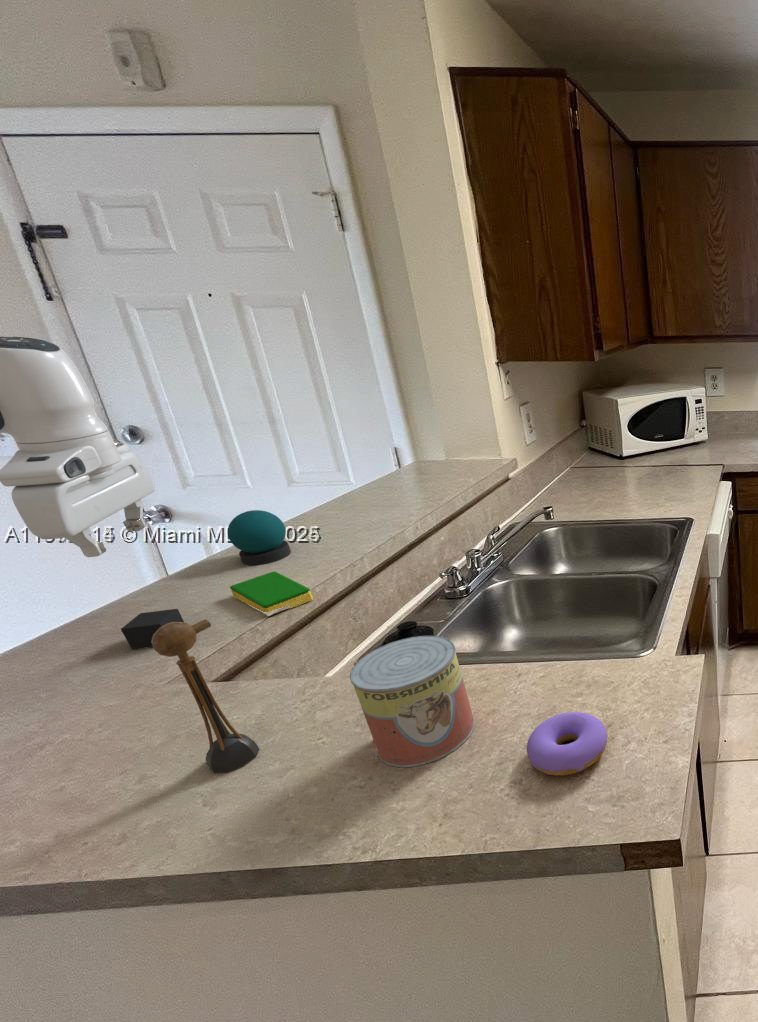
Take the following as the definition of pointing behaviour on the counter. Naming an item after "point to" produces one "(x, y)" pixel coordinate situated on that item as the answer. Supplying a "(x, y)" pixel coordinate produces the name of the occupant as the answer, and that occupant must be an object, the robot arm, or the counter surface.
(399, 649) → the canned food
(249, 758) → the wooden tabletop sculpture
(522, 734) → the counter surface
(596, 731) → the donut
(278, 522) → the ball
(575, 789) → the counter surface
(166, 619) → the block
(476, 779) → the counter surface
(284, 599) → the dish sponge
